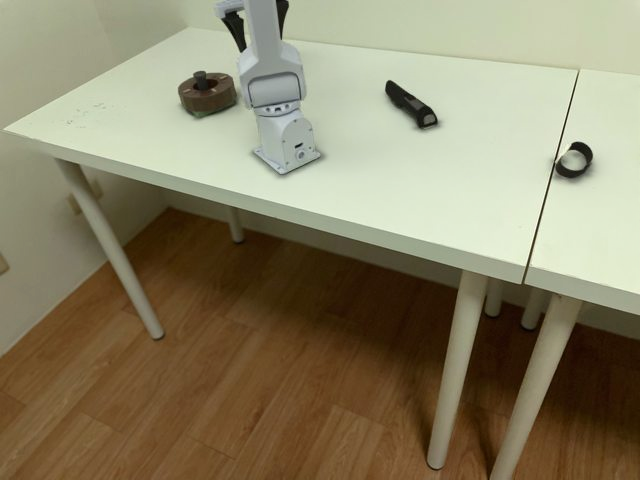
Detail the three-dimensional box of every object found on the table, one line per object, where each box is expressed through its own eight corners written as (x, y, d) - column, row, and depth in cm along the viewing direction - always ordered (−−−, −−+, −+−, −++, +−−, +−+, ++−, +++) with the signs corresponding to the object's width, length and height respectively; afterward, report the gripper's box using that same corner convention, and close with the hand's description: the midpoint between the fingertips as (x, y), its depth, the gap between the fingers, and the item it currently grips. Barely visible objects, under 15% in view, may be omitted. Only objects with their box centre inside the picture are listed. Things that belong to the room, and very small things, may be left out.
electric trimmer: (397, 91, 94) (397, 76, 91) (439, 124, 83) (440, 108, 80) (380, 96, 93) (380, 81, 91) (420, 130, 82) (421, 114, 80)
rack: (233, 104, 96) (226, 72, 91) (198, 118, 93) (188, 86, 89) (217, 91, 101) (209, 61, 97) (183, 104, 98) (173, 73, 94)
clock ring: (245, 97, 95) (242, 82, 93) (195, 117, 91) (191, 102, 89) (221, 81, 102) (217, 66, 100) (173, 98, 98) (169, 84, 96)
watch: (564, 150, 73) (570, 130, 71) (596, 159, 71) (604, 138, 69) (545, 175, 69) (551, 154, 67) (579, 185, 67) (586, 164, 65)
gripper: (270, -46, 86) (282, 31, 95) (198, -27, 80) (218, 52, 89) (291, -40, 81) (301, 39, 90) (216, -20, 76) (235, 63, 85)
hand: (261, 47), depth 90 cm, fingers open, 7 cm apart
